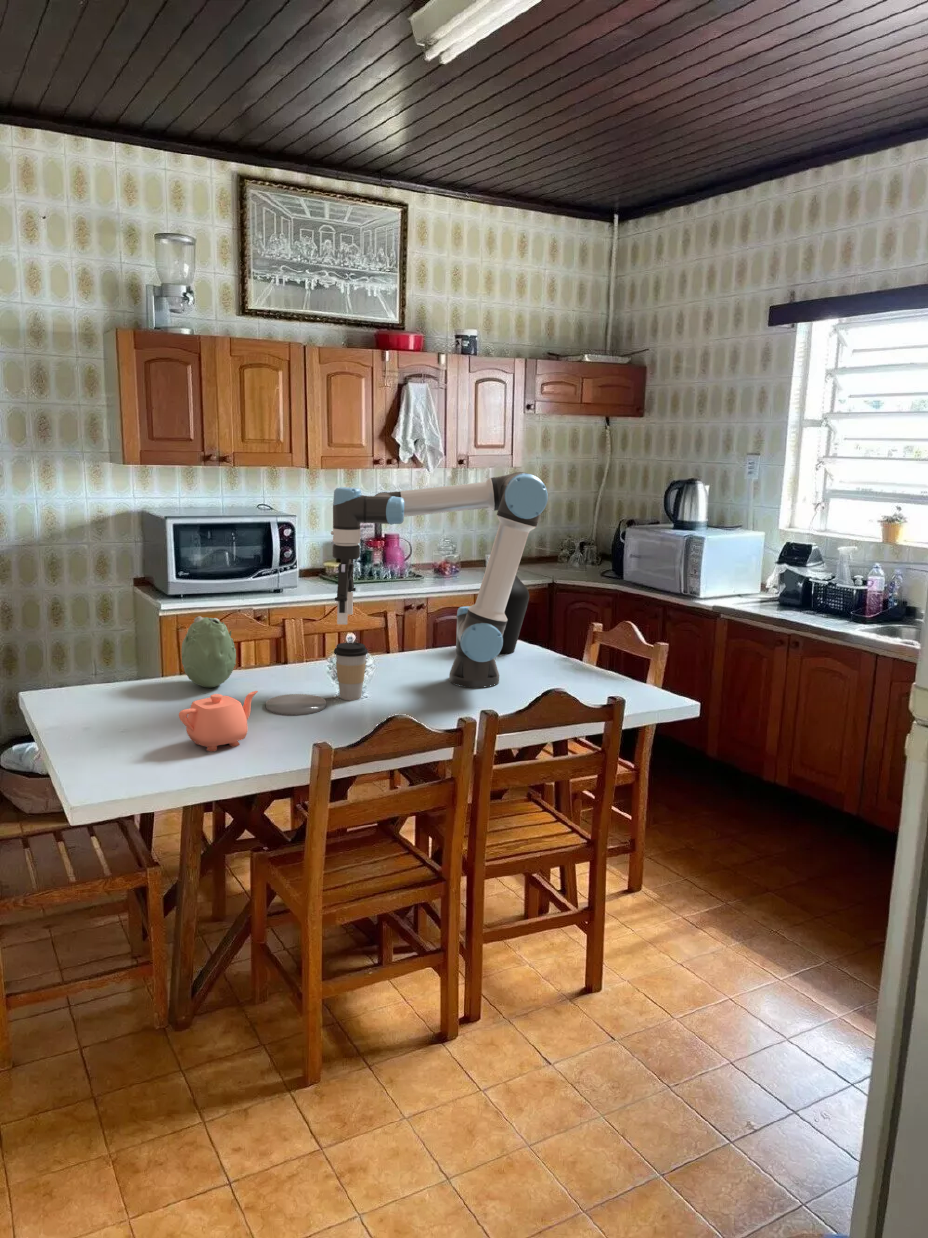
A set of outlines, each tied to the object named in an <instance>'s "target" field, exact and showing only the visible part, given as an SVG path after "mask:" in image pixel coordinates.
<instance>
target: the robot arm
mask: <svg viewBox="0 0 928 1238" xmlns="http://www.w3.org/2000/svg"><path fill="white" fill-rule="evenodd" d="M548 498H549V495H548V490H547V487H546V485H545V483H544V481H542V479H540V478H539V477H538V476H536V475H533V474H531V473H527V472H524V471H518V472H513V473H509V474H505V475H501V476H495V477H488V479H487V480H486V481H480V482H473V483H463V484H454V485H445V486H435V487H434V486H433V487H425V488H417V489H408V490H401V491H400V490H399V491H389V492H388V491H381V492H378V493H375V494H374V495H363V494H362V490H361V488H359V487H347V486H346V487H343V486H341V487H337V488H335V489H334V490H333V500H332V501H333V503H332V531H331V532H330V535H332V542H333V543H334V544H333V545H332V558H334V559H335V560H336V559H337V560H340V563H338V565H337V571H338V573H337V575H338V576H337V590H336V591H337V593H336V594H337V595H336V596H335V598H334V602H336V603H337V604H336V605H337V613H336V614H337V616H336V618H337V619H336V624H337V625H348V615H351V616H352V615H353V614H354V613H353V612H354V608H353V607H354V592H356V590H357V589H356V587H355V584H354V568H355V565H354V560H359V559H360V556H361V546H360V545H359V544H360V543H361V524H383V525H384V524H385V525H390V526H391V525H402V524H403V522H404V519H405V517H414V516H416V517H417V516H424V515H433V514H442V513H452V512H453V513H454V512H462V511H471V510H481V509H489V510H491V511H492V512H496V511H497V513H496V517H497V519H498V521H499V524H498V528H497V531H496V534H495V537H494V540H493V544H492V548H491V551H490V554H489V558H488V560H487V561H488V562H487V565H486V566H485V567H486V568H485V571H484V574H483V578H482V581H481V584H480V586H479V590H478V593H477V596H476V597H477V598H476V600H475V603H474V604H473V605H471V606H467V605H466V606H460V607H458V609H457V611H456V612H457V613H456V616H455V617H456V636H455V637H456V639H455V640H456V644H455V657H454V659H453V662H452V665H451V668H450V670H449V675H448V676H449V678H448V679H449V680H448V681H449V682H450V683H451V684H452V685H455V686H459V685H460V686H459V687H464V686H465V687H466V688H474V687H481V688H485V687H484V686H490V685H494V684H496V685H498V684H499V683H500V672H499V669H498V665H497V662H496V658H497V657H498V656H499V655H500V654H499V653H500V651H501V649H502V646H503V637H502V636H503V633H504V630H505V627H506V623H507V620H508V619H507V617H506V615H505V613H504V612H505V608H506V605H507V602H508V599H509V595H510V592H511V589H512V586H513V583H514V579H515V576H517V572H518V569H519V567H520V562H521V559H522V556H523V552H524V550H525V546H526V543H527V540H528V537H529V534H530V532H531V531H533V530H534V529H536V528H537V526H538V524H539V519H540V516H541V514H543V511H544V510H545V509H546V507H547V504H548V500H549V499H548ZM494 686H495V685H494ZM465 687H464V688H465ZM490 687H491V686H490Z"/></svg>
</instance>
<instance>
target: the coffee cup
mask: <svg viewBox="0 0 928 1238" xmlns="http://www.w3.org/2000/svg"><path fill="white" fill-rule="evenodd" d="M368 653H369V652H368V648H366V645H365V644H364V643H361V642H360V643H359V642H355V641H353V642H351V641H349V642H348V641H347V642H341V643H337V644H336V647H335V648H334V649H333V654H334V655H335V658H336V661H335V665H336V675H337V682H338V689H339V690H338V691H339V697H340V699H341V700H345V701H357V700H360V699H362V694H363V685H364V681H365V673H366V672H365V671H366V663H367V661H366V658H367V655H368Z"/></svg>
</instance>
